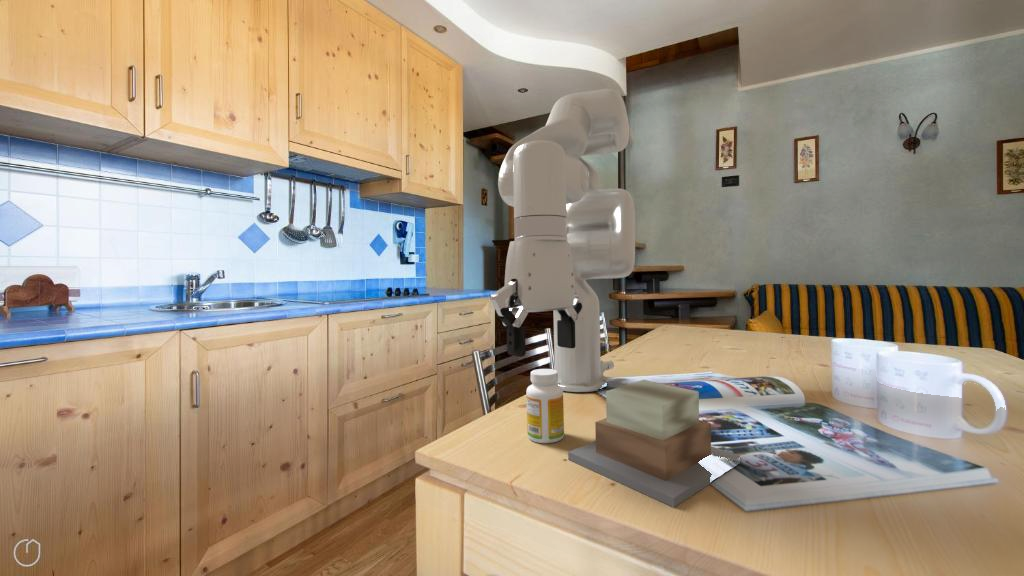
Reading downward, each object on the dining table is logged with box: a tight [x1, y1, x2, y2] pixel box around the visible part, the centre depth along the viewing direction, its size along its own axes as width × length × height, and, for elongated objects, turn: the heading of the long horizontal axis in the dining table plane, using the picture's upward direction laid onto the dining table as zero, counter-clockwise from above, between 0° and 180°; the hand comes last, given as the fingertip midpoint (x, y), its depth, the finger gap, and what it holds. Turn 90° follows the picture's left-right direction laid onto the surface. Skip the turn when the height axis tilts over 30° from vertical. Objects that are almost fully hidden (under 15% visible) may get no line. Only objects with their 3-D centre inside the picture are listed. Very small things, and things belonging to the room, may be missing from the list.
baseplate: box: [567, 440, 741, 508], centre depth 56 cm, size 15×15×1 cm
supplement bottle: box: [525, 368, 565, 444], centre depth 64 cm, size 5×5×10 cm
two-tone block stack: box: [594, 379, 712, 481], centre depth 55 cm, size 10×10×8 cm
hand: (542, 351), depth 63 cm, fingers open, 9 cm apart
